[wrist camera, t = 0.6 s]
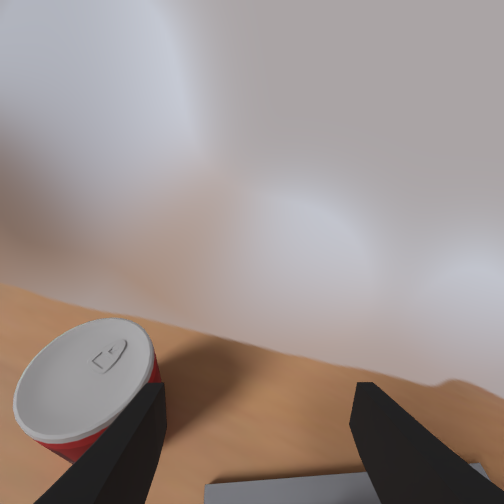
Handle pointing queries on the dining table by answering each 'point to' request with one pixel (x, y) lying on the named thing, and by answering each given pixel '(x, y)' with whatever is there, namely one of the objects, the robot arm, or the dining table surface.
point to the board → (301, 490)
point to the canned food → (83, 384)
